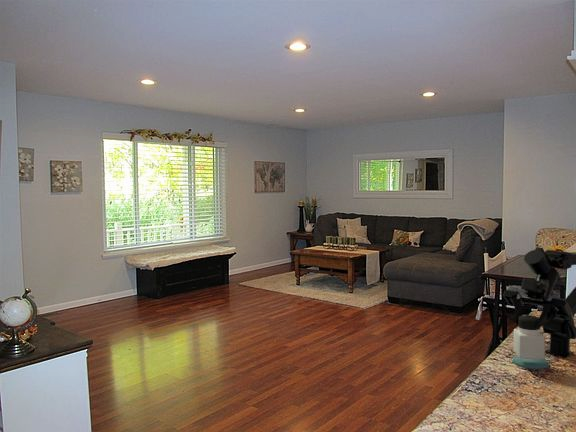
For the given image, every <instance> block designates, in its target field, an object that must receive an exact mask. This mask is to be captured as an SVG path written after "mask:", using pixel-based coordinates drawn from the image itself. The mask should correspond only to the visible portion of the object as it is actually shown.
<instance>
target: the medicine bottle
mask: <svg viewBox="0 0 576 432" xmlns="http://www.w3.org/2000/svg"><path fill="white" fill-rule="evenodd" d="M538 319H539V317H538V316H536V315H533V314H531V315H530V314H523V315H522V316H520V317H519V318H518V324H517V326H518V327H517V328H514V329H513V351H514V353H515V354H516V356H518V357H519V358H520V359H544V360H546V353H545V351H546V336H545V335H544V334H543V333H542V332H541V327H540V328H539V329H537V328H536V324H537V321H538Z"/></svg>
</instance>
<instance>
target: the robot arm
mask: <svg viewBox="0 0 576 432" xmlns="http://www.w3.org/2000/svg"><path fill="white" fill-rule="evenodd" d="M523 257H524V259H523V260H524V262H525V263H526V265H527V266H528V267H529V269H530V270H531V272H532V273H533V274H534V275H536V276H535V278H534V279H532V278H522V282H521V286H520V289H521V290H524V294H525V295H526V296H523V295H521V293H520V292H519V291H518V290H514V289H505V290H504V292H503V294H502V297H503V298H504V300H505V301H506V303H507V305H508V306H511V307H514V324H515V325H518V318H519V317H520V316H522V315H524V313H525V311H526V308H525V306H524V304H528V305H534V306H538V307H542V311H541V313H540V316H539V317H538V318H539V319H538V321H537V324H536V328H537V329H539V328H540V329H541V328H542V330H543V333H544V334H547V335H548V334H549V348H548V349H545V354H549V355H553V356H557V357H560V358H564V359H565V358H569V357H570V356H573V355H574V354H575V352H574V351H571V350H570V349H571V340H576V326H575V317H574V316H575V315H576V286H575V287H574V288H573V289H572V291H570V293H569V294H568V296H566V298H565V299H564V298H557V297H553V295H554V288H555V286H556V283H557V281H559V282H560V281H562V278H561V276H560V273H559V271H558V270H563V271H565V270H568V269H570V268H572V266H576V251H574V252H569V251H561V250H554V249H545V250H544V248H543V247H540V246H539V247H538V246H536V247H535V249H532V250H530V251H528V252H527V253H525V254H524V256H523ZM557 269H558V270H557ZM551 296H552V298H551V299H550V297H551Z"/></svg>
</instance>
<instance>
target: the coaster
mask: <svg viewBox="0 0 576 432" xmlns="http://www.w3.org/2000/svg"><path fill="white" fill-rule="evenodd" d="M512 363H513V364H514V365H516V366H518V367H520V368H524V369H527V370H528V369H529V370H534V371H535V370H537V371H538V370H546V369H548V368H549V367H550V365H549V361H547V360H546V359H520V358H519V357H518V355H515V356H513V357H512Z"/></svg>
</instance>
